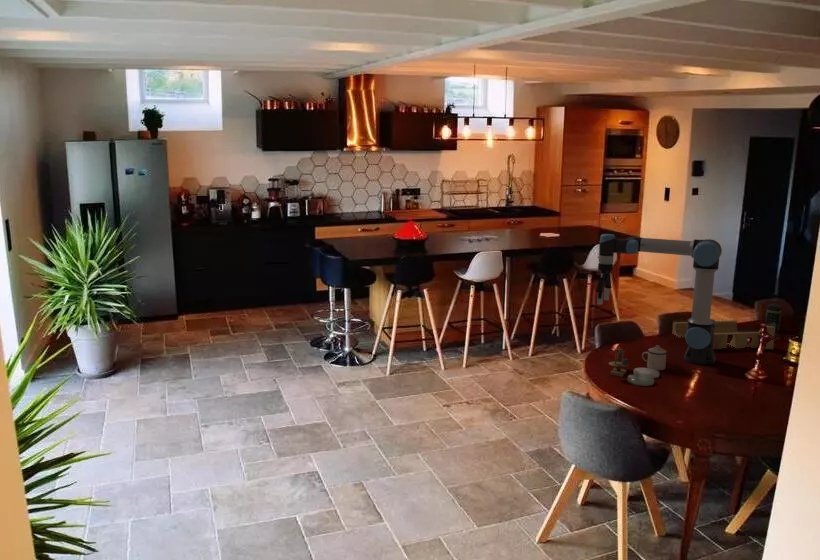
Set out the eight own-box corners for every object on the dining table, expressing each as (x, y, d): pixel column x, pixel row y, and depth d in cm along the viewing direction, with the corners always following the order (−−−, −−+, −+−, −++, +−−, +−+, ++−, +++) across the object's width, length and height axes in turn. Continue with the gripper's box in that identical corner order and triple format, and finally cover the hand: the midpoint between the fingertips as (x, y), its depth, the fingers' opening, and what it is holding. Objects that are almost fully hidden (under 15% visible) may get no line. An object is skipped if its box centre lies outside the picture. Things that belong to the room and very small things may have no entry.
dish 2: (656, 380, 327) (656, 377, 327) (651, 387, 317) (651, 384, 316) (630, 376, 333) (630, 373, 332) (624, 382, 322) (625, 379, 322)
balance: (617, 367, 347) (619, 340, 344) (629, 369, 344) (631, 342, 341) (606, 378, 328) (608, 350, 326) (619, 380, 325) (621, 352, 323)
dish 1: (661, 373, 338) (661, 370, 338) (656, 379, 328) (657, 376, 327) (636, 369, 344) (636, 366, 344) (631, 375, 334) (631, 372, 333)
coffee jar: (777, 336, 413) (781, 306, 410) (763, 334, 418) (766, 304, 414) (779, 333, 421) (783, 303, 418) (765, 331, 426) (768, 301, 422)
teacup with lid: (668, 367, 348) (669, 345, 345) (662, 371, 340) (664, 349, 338) (644, 363, 355) (646, 341, 353) (638, 367, 348) (640, 344, 346)
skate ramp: (732, 335, 414) (735, 309, 412) (772, 352, 380) (775, 324, 377) (671, 337, 408) (673, 311, 405) (706, 354, 373) (709, 326, 371)
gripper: (604, 259, 377) (602, 297, 381) (592, 265, 356) (589, 305, 360) (618, 260, 374) (615, 299, 378) (606, 266, 353) (604, 307, 356)
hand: (603, 302), depth 369 cm, fingers open, 13 cm apart
